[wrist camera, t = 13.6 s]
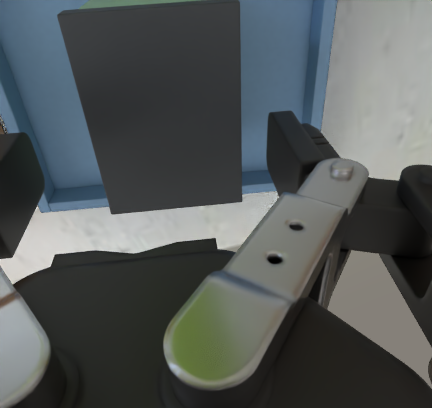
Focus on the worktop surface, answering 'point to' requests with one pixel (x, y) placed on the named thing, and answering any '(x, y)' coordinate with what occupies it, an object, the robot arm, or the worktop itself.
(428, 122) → the worktop surface
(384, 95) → the worktop surface
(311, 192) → the robot arm
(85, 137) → the tray
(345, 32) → the worktop surface
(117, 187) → the tub
